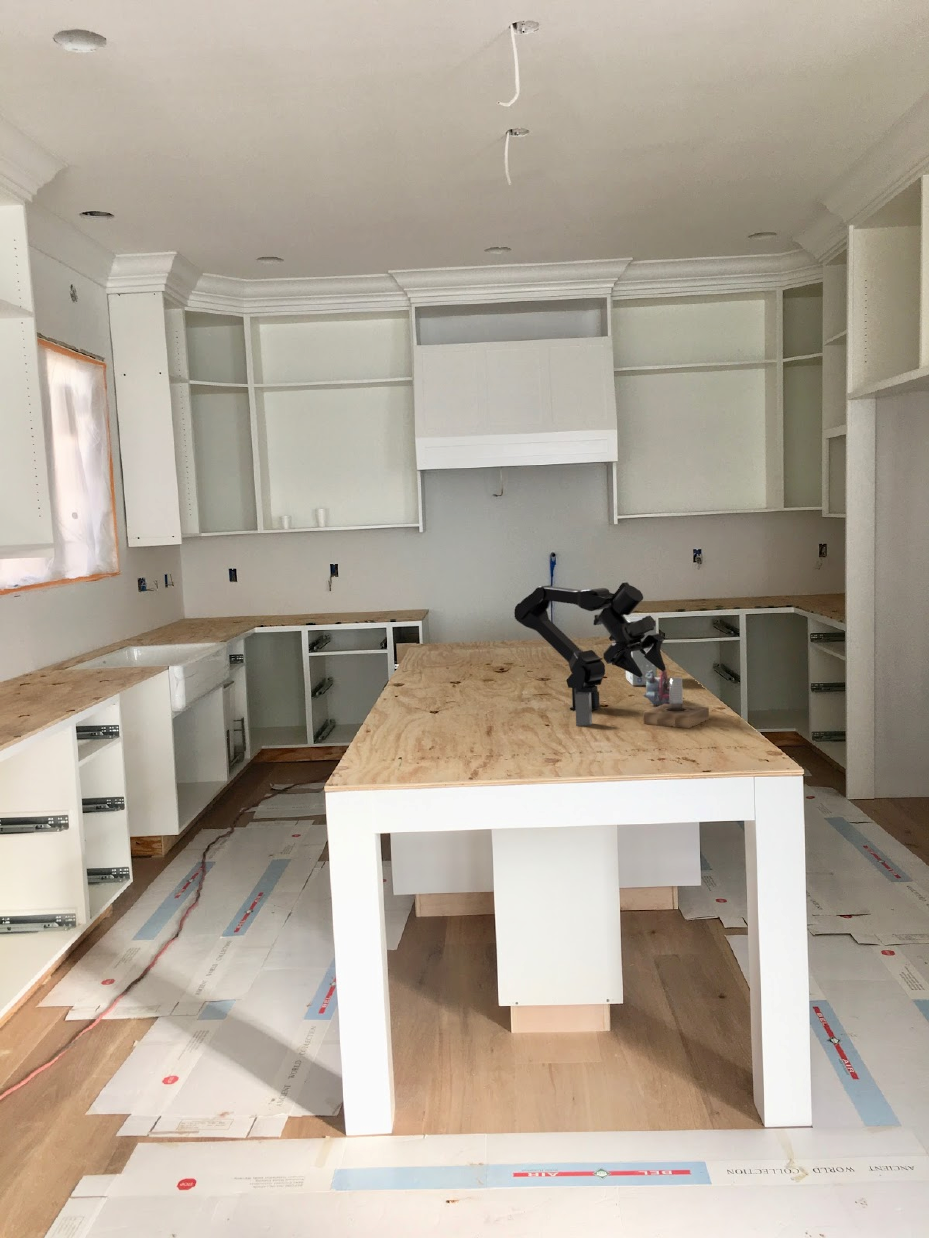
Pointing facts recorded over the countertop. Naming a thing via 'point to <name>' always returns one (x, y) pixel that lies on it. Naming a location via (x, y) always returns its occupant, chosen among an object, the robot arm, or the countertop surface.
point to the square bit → (583, 708)
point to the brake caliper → (657, 688)
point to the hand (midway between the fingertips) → (653, 673)
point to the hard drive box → (641, 660)
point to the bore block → (676, 716)
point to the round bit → (675, 694)
